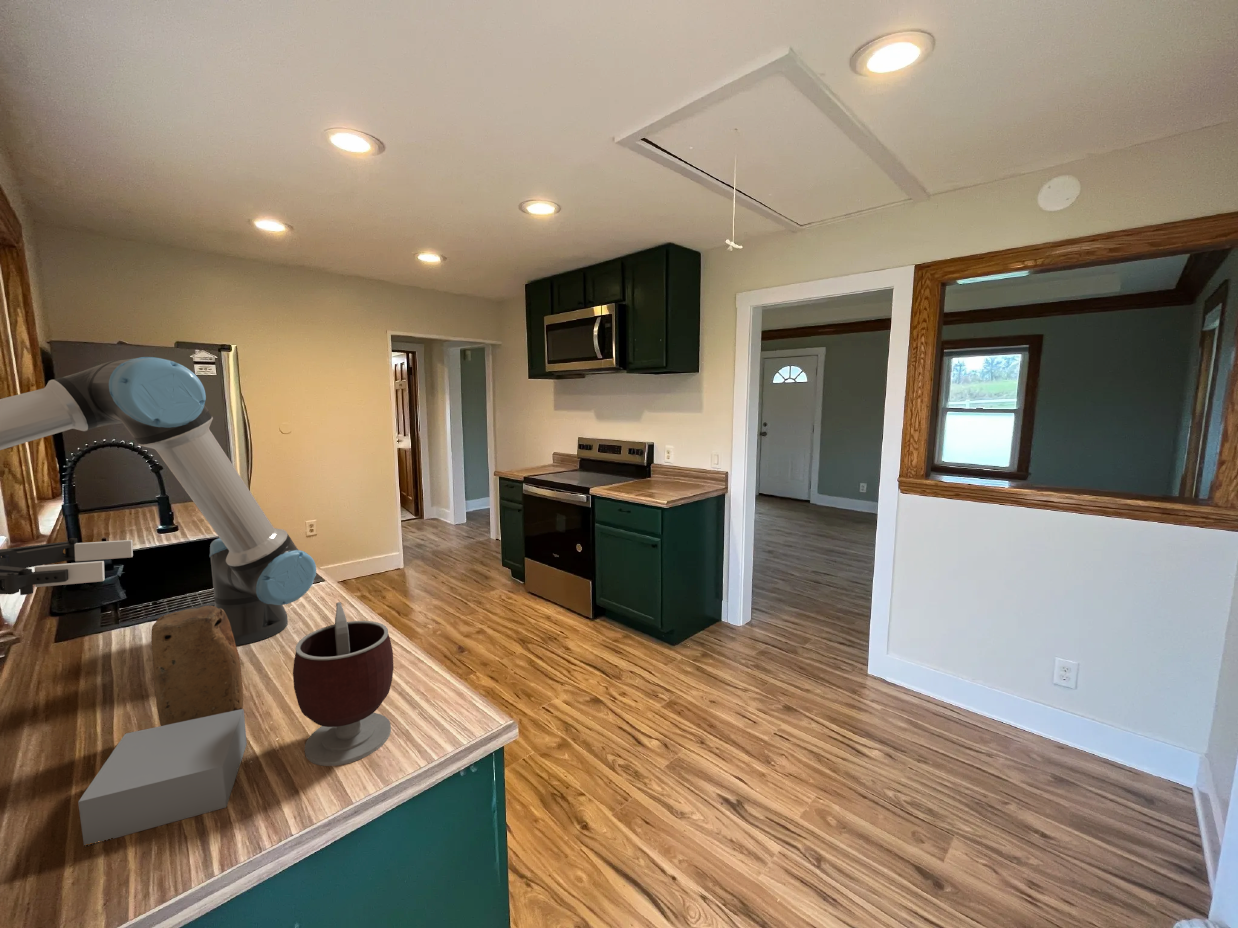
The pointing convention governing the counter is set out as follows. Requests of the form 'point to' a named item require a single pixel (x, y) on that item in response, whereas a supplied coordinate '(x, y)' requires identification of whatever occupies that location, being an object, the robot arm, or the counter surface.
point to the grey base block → (164, 776)
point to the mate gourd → (344, 688)
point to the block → (195, 665)
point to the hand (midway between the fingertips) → (119, 558)
